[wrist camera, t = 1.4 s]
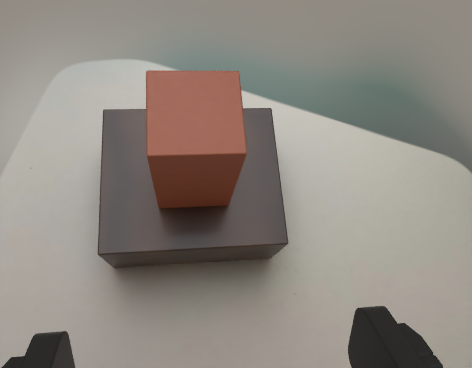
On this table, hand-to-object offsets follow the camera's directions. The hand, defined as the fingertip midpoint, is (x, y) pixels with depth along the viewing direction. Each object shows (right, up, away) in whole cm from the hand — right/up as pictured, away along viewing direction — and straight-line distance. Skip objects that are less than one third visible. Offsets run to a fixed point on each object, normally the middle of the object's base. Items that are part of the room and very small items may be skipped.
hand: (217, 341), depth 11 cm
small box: (-3, +5, +18) cm, 19 cm away
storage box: (-3, +3, +23) cm, 24 cm away
